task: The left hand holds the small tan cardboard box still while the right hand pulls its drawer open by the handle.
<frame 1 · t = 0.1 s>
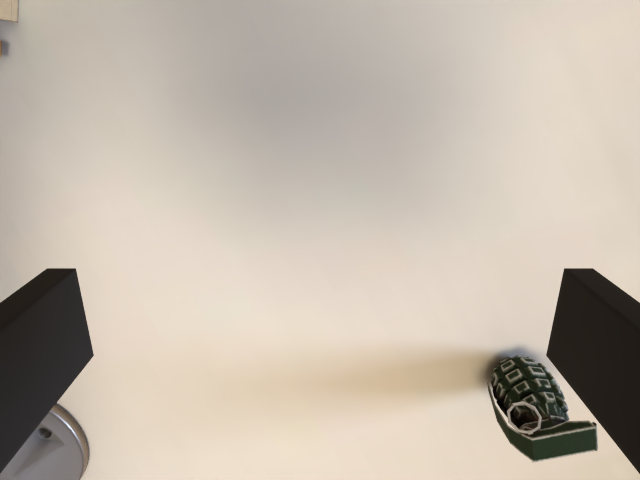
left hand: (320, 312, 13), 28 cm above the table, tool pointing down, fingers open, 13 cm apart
grenade: (509, 368, 47), on the table
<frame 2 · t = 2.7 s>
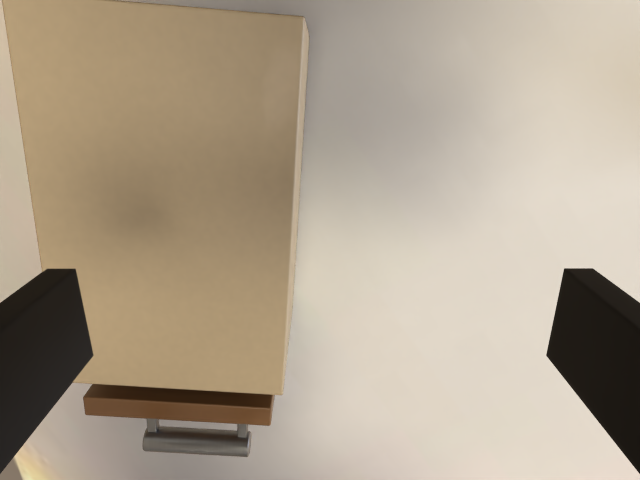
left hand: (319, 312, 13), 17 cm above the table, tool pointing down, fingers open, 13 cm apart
drawer: (193, 305, 26), point 5 cm above the table, slide at 1.6 cm
tan cardboard box: (210, 178, 28), on the table
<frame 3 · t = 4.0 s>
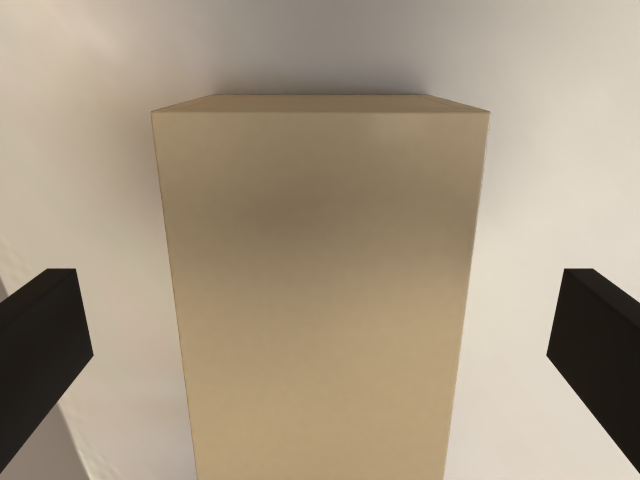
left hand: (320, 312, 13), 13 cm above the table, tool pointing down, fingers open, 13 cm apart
tan cardboard box: (320, 250, 26), on the table
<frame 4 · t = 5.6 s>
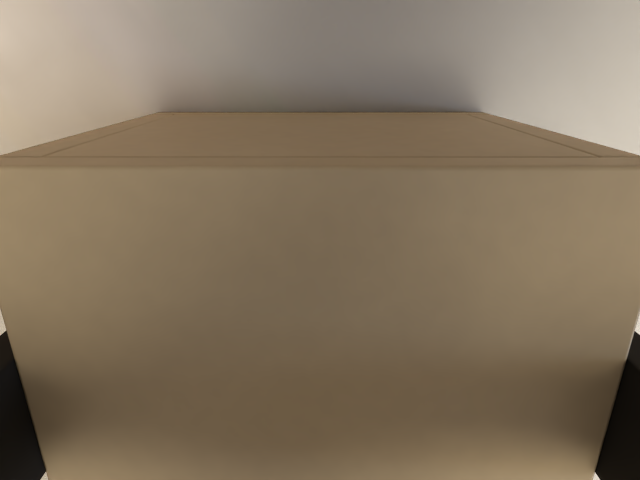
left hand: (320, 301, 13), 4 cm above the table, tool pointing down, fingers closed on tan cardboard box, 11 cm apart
tan cardboard box: (320, 330, 19), on the table, touching left hand
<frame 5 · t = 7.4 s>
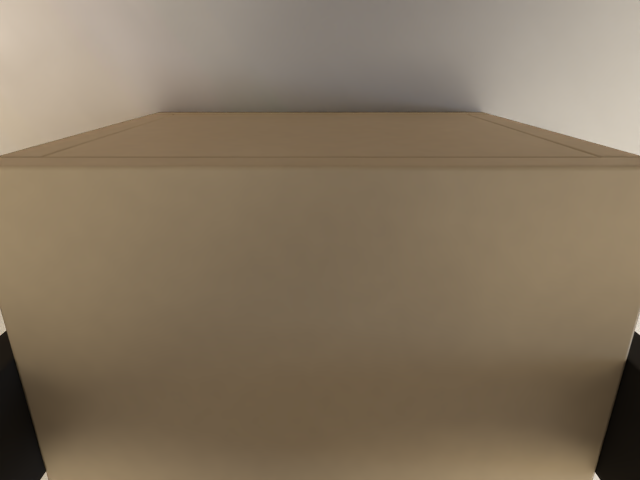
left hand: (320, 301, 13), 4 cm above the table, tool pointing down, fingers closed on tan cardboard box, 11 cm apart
tan cardboard box: (320, 330, 19), on the table, touching left hand
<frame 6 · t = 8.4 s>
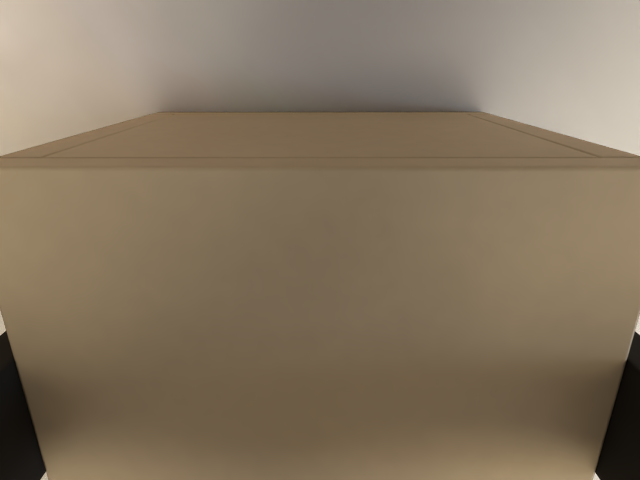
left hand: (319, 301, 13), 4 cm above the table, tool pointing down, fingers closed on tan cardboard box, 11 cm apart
tan cardboard box: (320, 330, 19), on the table, touching left hand
when the left hand's fingers open (5 cm above the table, at t = 10.3 s): tan cardboard box stays where it is, on the table.
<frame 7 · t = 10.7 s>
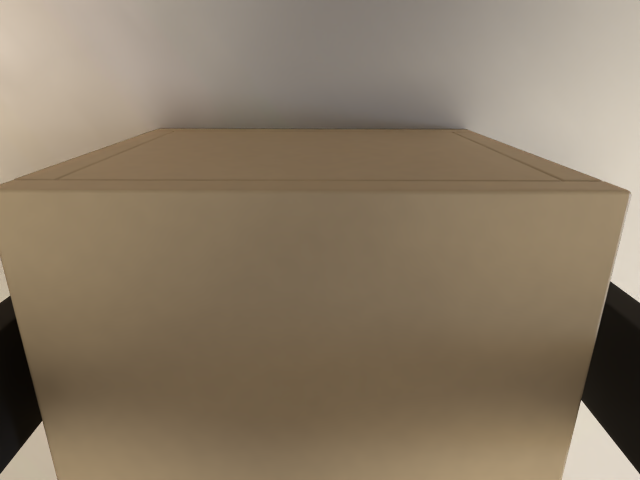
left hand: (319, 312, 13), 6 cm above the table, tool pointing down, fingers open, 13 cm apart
tan cardboard box: (313, 337, 19), on the table
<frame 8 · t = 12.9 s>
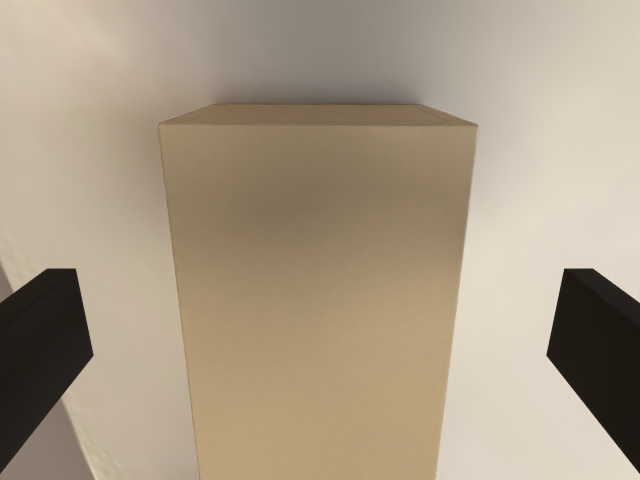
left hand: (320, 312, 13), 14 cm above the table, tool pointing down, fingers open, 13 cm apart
tan cardboard box: (318, 254, 27), on the table
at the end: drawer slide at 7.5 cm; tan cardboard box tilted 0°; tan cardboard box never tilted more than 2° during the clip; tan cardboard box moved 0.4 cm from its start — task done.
